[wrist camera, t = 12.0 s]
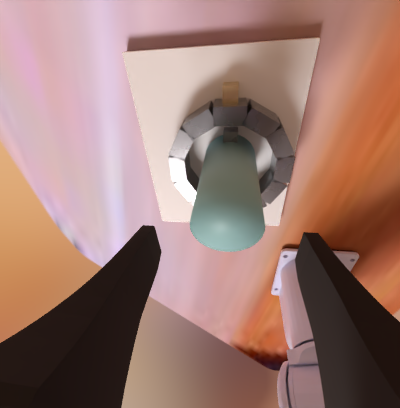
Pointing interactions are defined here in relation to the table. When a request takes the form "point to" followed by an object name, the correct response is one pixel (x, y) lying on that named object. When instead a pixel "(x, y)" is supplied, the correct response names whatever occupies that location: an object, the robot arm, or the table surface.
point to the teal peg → (228, 196)
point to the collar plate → (220, 113)
